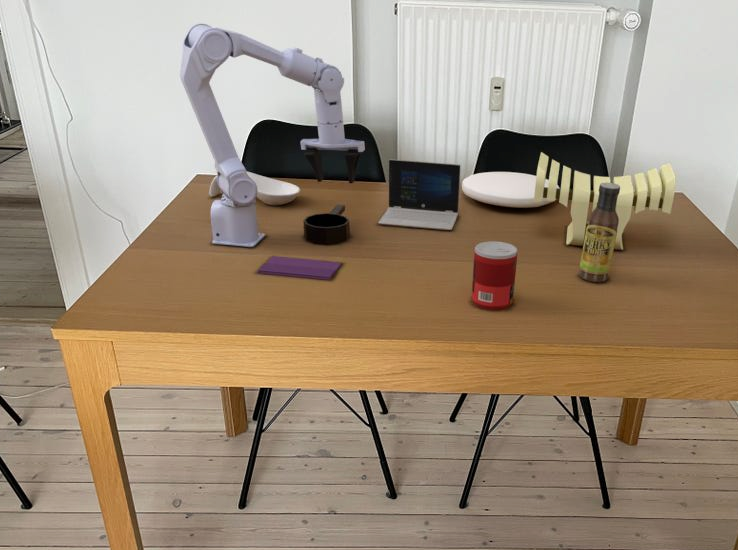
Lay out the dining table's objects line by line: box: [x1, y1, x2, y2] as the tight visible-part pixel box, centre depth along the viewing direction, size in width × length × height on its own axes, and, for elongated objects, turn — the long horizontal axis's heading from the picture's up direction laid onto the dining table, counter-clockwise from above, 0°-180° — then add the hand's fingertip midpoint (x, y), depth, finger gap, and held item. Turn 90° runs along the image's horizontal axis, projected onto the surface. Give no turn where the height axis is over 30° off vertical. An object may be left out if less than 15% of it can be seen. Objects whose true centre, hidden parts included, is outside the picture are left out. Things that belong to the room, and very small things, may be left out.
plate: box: [461, 171, 561, 209], centre depth 198 cm, size 28×6×27 cm
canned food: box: [471, 241, 518, 311], centre depth 137 cm, size 8×8×11 cm
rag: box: [257, 255, 343, 281], centre depth 150 cm, size 15×9×1 cm, turn 82°
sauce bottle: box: [578, 182, 620, 283], centre depth 148 cm, size 6×6×20 cm
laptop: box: [377, 158, 461, 231], centre depth 177 cm, size 18×12×13 cm
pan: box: [302, 204, 351, 246], centre depth 170 cm, size 17×10×4 cm, turn 172°
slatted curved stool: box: [534, 151, 677, 251], centre depth 169 cm, size 30×16×18 cm, turn 80°
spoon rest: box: [208, 170, 301, 206], centre depth 187 cm, size 24×12×7 cm, turn 80°
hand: (336, 181), depth 169 cm, fingers open, 7 cm apart
